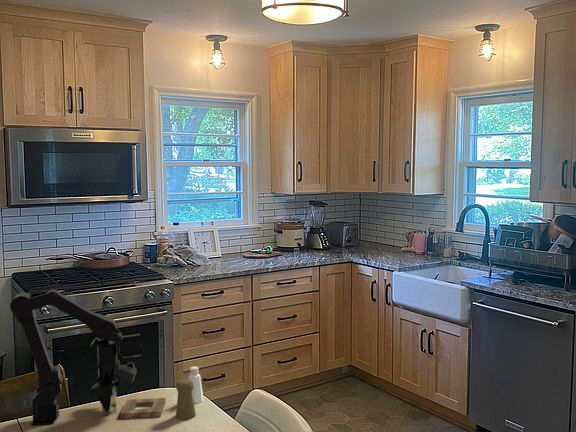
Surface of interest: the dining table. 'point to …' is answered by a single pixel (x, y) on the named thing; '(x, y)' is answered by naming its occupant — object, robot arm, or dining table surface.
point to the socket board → (143, 408)
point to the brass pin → (111, 406)
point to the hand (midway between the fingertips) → (109, 408)
